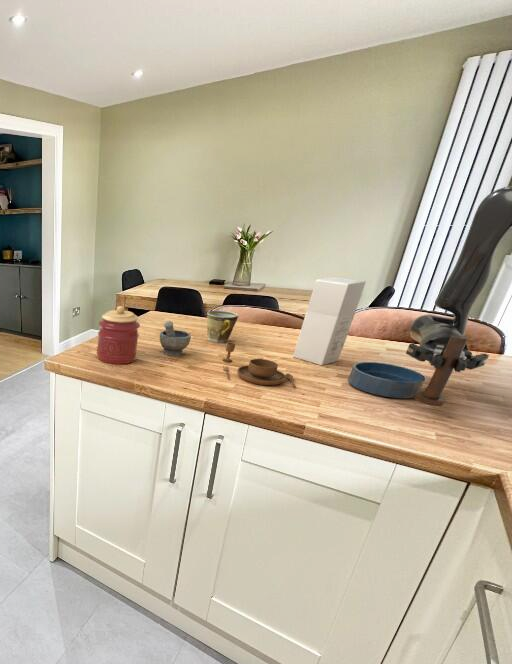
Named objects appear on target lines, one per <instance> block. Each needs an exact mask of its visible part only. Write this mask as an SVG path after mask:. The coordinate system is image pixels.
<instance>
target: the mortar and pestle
mask: <svg viewBox="0 0 512 664" xmlns="http://www.w3.org/2000/svg"><path fill="white" fill-rule="evenodd" d="M163 326H164V328H165V329H164V330H161V331H159V343H160V345H161V347H162V348H163V349H162V353H163V354H164V355H166V356H169V357H179V356H182V355H183V350H185V349H186V348H187V347H188V346H189V344H190V341H191V338H192V335H191V333H190V332H187V331H186V330H185V331H184V330H179V329H174V323H173V322H172V321H171V320H169V321H166V322H165V323H164V324H163Z"/></svg>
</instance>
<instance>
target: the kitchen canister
mask: <svg viewBox="0 0 512 664" xmlns="http://www.w3.org/2000/svg"><path fill="white" fill-rule="evenodd" d="M101 318H102V319H101V320H100V321H99V322H98V326H99V331H98V332H97V335H98V337H97V348H96V357H97V359H98V360H100V361H102V362H104V363H107V364H114V365H124V364H131V363H132V362H135V360H136V357H137V354H138V353H137V352H138V351H137V349H138V341H139V340H138V339H139V336H140V333H138V332H139V328H140V327H141V325H140V324H141V323H140V322H139V321H138V320H139V316H138V315H136V314H135V313H134V312H133V311H129V310H126V309H125V307H124V306H122V305H119V306H117V307H116V309H113V310H108V311H107V312H105V313H103V314H102V315H101Z"/></svg>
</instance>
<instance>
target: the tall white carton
mask: <svg viewBox="0 0 512 664" xmlns="http://www.w3.org/2000/svg"><path fill="white" fill-rule="evenodd" d="M366 283H367V282H366V280H361V279H360V280H359V279H353V278H345V277H337V276H331V277H325V278H319V279H316V280H315V282H314V285H313V289H312V292H311V296H310V299H309V301H308V302H309V303H308V305H307V309H306V312H305V315H304V318H303V322H302V325H301V329H300V331H299V335H298V339H297V341H296V345H295V349H294V352H293V355H292V357H293V358H296V359H299V360H302V361H305V362H309V363H312V364H315V365H319V366H324V365H329V364H332V363H334V362H338V361H339V360H340V358H341V355H342V353H343V352H342V351H343V349H344V346H345V344H346V341H347V337H348V334H349V332H350V329H351V327H352V323H353V321H354V318H355V314H356V312H357V309H358V305H359V303H360V300H361V297H362V294H363V291H364V288H365V285H366Z"/></svg>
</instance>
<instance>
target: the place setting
mask: <svg viewBox="0 0 512 664" xmlns="http://www.w3.org/2000/svg"><path fill="white" fill-rule="evenodd" d="M235 349H236V343H235V342H232V341H231V342H230V341H227V342H226V345H225V351H226V352H227V355H226V358H223V359H222V361H223V362H225V363H233V359H231V353H233V352H234V351H235ZM278 366H279V363H277V362H276V361H273V360H270V359H265V358H253V359H250V360H249V363H248V365H241V366H239V367H238V368H237V370H236V373H237V375H238V376H239V377H240V378H241V379H243V380H244V381H245V382H248V383H252V384H255V385H260V386H274V385H280V384H282V383H283V382H284V381H285V380H286V379H288V380H290V383H291V386H292V387H293V388H296V384H295V383H294V380H293V379H294V376H293V375H292V374H291V373H286V374H285V373H283V372H281V371H280V370H278ZM222 368H224V369H223V371H224V372H225V373H226V376H227V380H230V375H229V369H228V365H223V367H222Z"/></svg>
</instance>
